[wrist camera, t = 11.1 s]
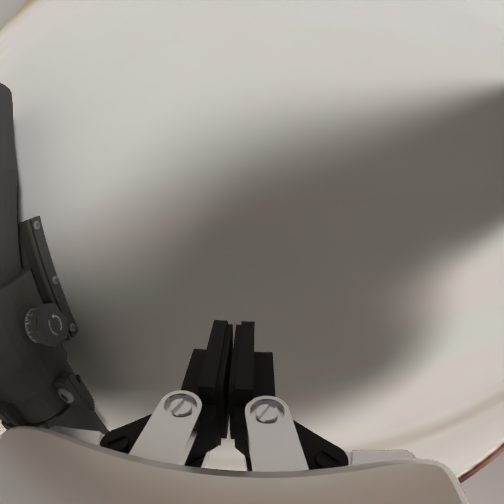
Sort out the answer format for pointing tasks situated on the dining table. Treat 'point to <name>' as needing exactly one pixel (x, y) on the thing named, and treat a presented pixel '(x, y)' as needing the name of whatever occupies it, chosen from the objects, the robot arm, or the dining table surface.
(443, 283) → the dining table surface
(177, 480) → the robot arm
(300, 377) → the dining table surface
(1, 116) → the rifle scope
